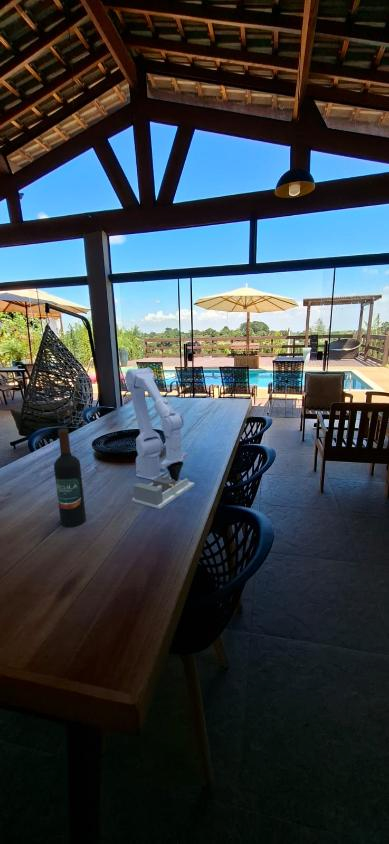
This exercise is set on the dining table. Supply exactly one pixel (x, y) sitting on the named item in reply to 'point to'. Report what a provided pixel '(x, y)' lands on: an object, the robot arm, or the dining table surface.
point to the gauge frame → (159, 493)
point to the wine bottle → (69, 484)
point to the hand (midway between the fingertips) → (174, 480)
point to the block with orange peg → (163, 483)
